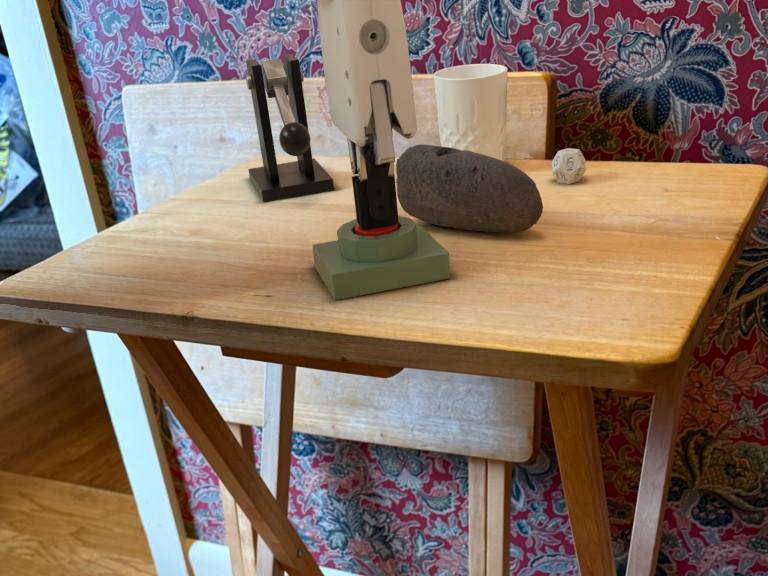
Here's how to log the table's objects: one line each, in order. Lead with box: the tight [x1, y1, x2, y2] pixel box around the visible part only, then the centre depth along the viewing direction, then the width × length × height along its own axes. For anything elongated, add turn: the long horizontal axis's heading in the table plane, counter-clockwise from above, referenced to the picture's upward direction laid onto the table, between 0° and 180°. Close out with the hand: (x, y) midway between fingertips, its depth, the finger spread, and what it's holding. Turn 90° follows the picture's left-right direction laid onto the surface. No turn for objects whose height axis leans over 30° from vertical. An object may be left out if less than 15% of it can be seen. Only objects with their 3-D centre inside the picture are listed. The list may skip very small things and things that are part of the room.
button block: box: [311, 215, 451, 301], centre depth 76 cm, size 10×8×4 cm
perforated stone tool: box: [395, 144, 544, 234], centre depth 82 cm, size 15×5×7 cm, turn 51°
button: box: [355, 224, 398, 236], centre depth 75 cm, size 4×4×2 cm
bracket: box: [245, 53, 335, 203], centre depth 98 cm, size 10×8×13 cm
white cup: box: [432, 63, 509, 162], centre depth 97 cm, size 8×8×10 cm
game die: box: [550, 147, 587, 185], centre depth 93 cm, size 4×4×3 cm
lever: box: [260, 58, 311, 157], centre depth 93 cm, size 12×3×3 cm, turn 16°
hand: (378, 224), depth 74 cm, fingers closed
